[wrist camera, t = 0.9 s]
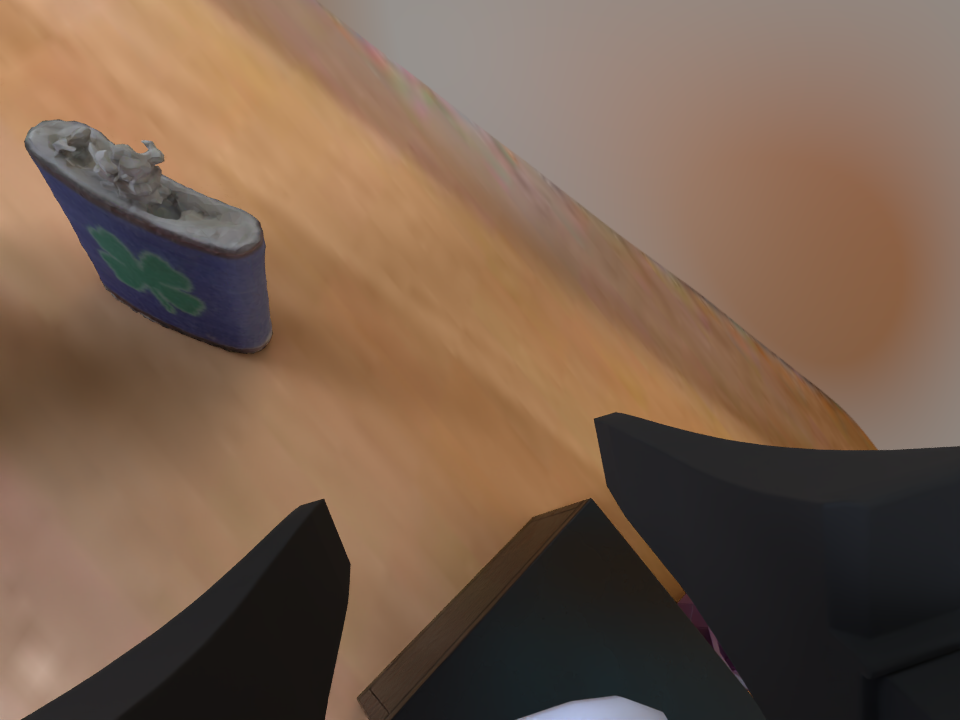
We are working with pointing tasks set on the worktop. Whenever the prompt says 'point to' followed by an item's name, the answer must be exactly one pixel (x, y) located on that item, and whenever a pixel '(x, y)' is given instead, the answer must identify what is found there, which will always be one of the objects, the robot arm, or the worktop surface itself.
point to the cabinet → (559, 636)
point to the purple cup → (706, 632)
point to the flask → (158, 237)
